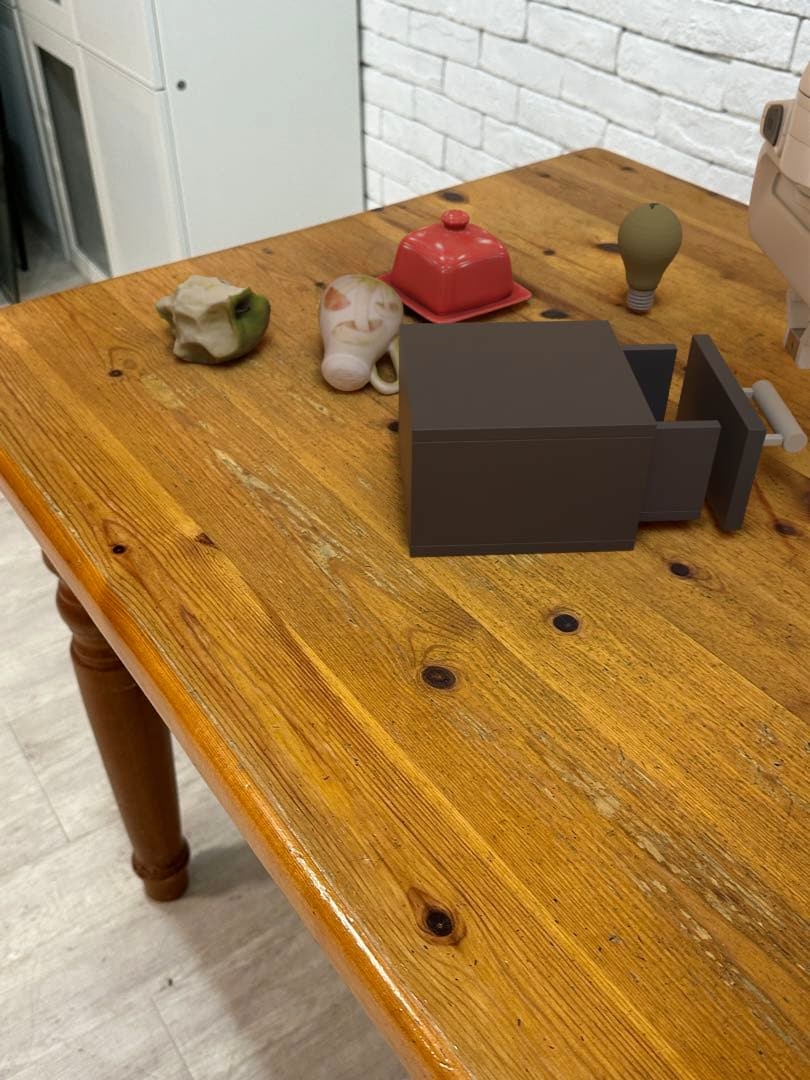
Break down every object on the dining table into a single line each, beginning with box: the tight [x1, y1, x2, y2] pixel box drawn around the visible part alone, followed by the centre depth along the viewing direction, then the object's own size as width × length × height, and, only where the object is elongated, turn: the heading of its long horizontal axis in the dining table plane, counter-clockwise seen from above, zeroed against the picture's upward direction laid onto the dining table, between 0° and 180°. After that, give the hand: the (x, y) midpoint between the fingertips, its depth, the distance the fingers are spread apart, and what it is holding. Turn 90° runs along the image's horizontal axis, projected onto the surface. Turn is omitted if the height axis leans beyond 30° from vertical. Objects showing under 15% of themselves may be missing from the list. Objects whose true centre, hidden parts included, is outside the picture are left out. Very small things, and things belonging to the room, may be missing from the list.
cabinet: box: [397, 319, 657, 558], centre depth 71 cm, size 15×14×10 cm
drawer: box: [620, 333, 808, 532], centre depth 71 cm, size 18×13×8 cm
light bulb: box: [616, 202, 683, 314], centre depth 94 cm, size 6×6×10 cm
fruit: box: [154, 274, 272, 365], centre depth 88 cm, size 9×9×8 cm
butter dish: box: [375, 209, 533, 323], centre depth 95 cm, size 12×12×8 cm
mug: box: [317, 273, 405, 395], centre depth 86 cm, size 8×10×10 cm
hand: (801, 358), depth 70 cm, fingers closed
